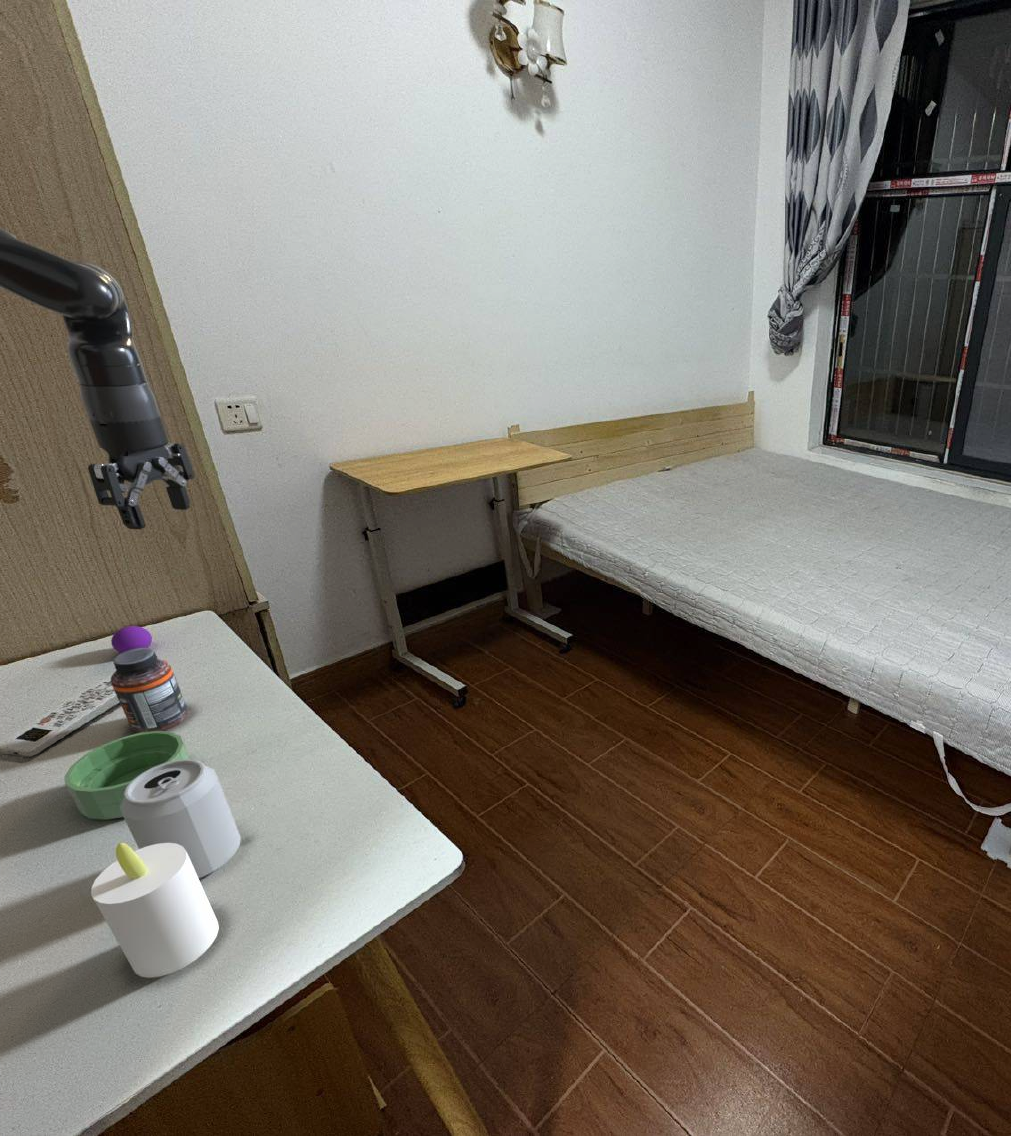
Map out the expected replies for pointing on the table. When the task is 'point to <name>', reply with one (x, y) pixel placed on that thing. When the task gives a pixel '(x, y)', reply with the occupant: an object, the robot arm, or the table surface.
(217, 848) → the can
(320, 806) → the table surface
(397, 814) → the table surface
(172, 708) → the supplement bottle
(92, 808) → the bowl
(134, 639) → the ball
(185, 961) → the candle
